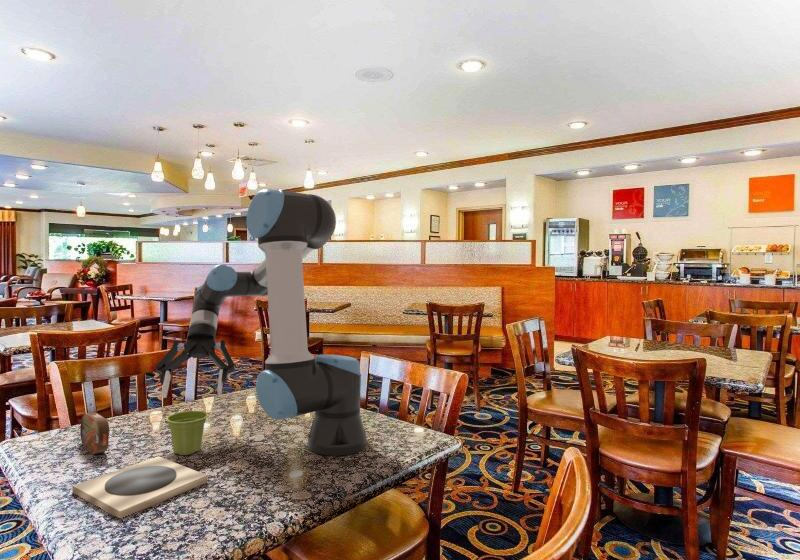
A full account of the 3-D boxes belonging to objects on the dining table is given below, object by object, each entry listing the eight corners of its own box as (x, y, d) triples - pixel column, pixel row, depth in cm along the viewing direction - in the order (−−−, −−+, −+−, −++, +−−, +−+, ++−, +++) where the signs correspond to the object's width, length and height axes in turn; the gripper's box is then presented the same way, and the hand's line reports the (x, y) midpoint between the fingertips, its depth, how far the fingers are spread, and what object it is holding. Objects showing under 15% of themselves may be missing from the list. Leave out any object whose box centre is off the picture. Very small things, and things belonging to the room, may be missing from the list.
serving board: (207, 482, 101) (207, 473, 101) (119, 519, 86) (119, 509, 86) (158, 462, 111) (158, 454, 111) (72, 492, 96) (72, 484, 96)
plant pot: (167, 446, 121) (167, 412, 121) (207, 441, 125) (207, 408, 124) (165, 460, 112) (165, 424, 112) (208, 455, 116) (208, 419, 116)
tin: (79, 442, 123) (78, 410, 123) (93, 439, 125) (93, 407, 125) (96, 459, 113) (96, 423, 112) (111, 455, 115) (111, 420, 115)
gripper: (248, 336, 145) (242, 399, 131) (159, 337, 140) (143, 403, 126) (246, 321, 140) (240, 384, 126) (153, 322, 135) (136, 388, 120)
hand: (191, 394), depth 126 cm, fingers open, 13 cm apart
